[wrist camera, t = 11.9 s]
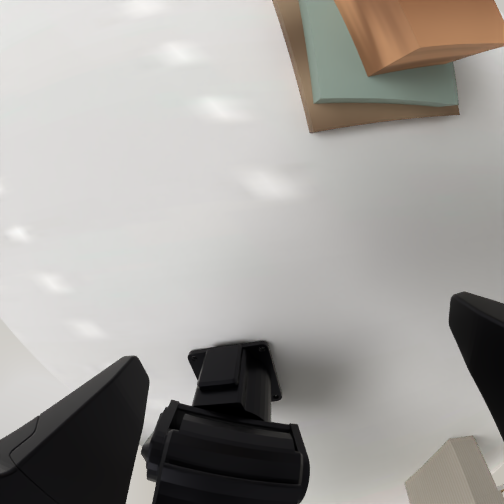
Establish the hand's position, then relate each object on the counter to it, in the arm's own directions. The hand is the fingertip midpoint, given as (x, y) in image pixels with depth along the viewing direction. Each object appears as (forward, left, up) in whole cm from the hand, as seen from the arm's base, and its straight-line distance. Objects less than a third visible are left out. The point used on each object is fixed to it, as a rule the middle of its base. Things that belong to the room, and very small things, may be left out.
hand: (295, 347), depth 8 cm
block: (+10, -8, -9) cm, 16 cm away
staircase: (-38, -16, -14) cm, 44 cm away
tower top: (+10, -8, -11) cm, 17 cm away
